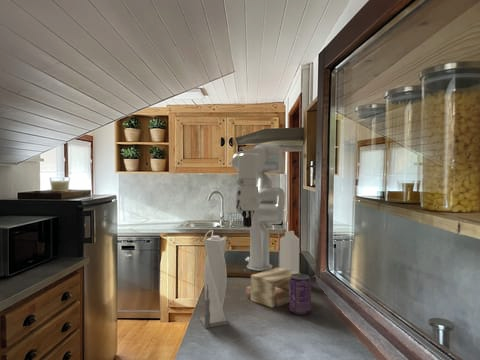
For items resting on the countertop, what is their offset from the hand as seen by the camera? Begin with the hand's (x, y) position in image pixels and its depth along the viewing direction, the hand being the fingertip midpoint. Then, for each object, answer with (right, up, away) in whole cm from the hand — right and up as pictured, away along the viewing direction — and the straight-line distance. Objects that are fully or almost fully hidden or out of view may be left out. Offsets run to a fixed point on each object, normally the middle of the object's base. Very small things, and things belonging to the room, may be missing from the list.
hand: (247, 226), depth 144 cm
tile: (+7, -25, -15) cm, 30 cm away
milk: (+18, -25, +3) cm, 31 cm away
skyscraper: (-11, -25, -37) cm, 46 cm away
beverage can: (+17, -25, -29) cm, 42 cm away
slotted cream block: (+10, -25, -17) cm, 31 cm away
